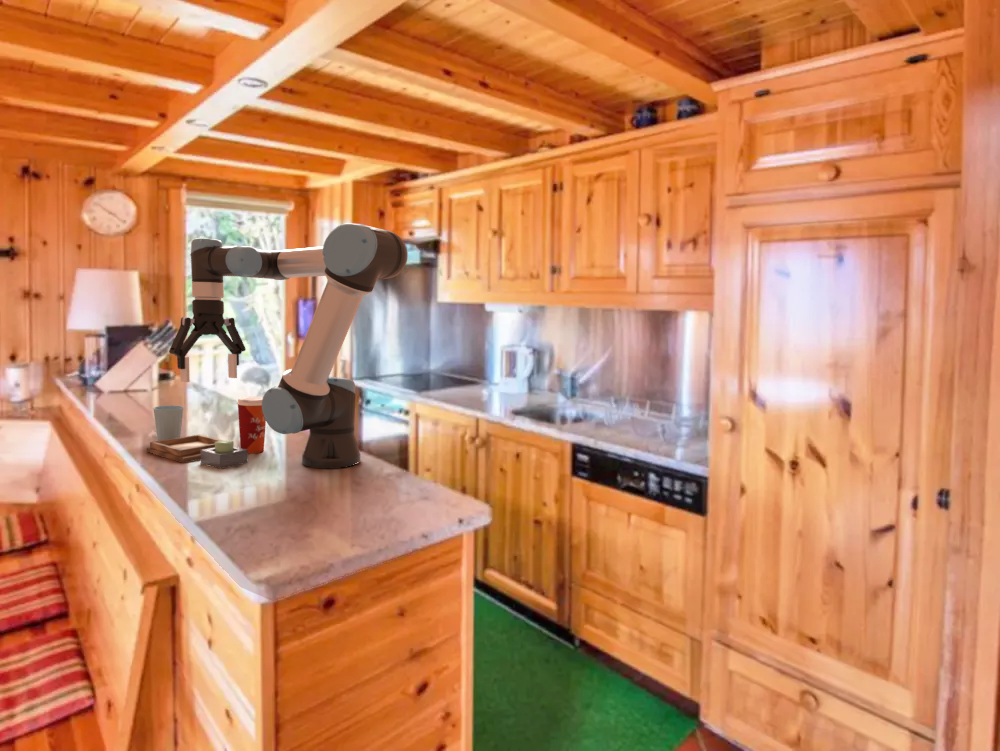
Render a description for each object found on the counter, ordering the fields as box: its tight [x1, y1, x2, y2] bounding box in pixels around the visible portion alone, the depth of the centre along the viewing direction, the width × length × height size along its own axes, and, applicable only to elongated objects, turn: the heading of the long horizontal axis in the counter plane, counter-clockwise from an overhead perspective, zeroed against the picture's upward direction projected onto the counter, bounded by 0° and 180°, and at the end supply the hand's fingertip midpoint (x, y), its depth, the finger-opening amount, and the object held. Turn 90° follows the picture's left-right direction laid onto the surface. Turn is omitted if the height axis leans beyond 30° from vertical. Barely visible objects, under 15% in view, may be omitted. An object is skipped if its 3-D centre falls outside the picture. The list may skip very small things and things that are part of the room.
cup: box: [152, 405, 185, 441], centre depth 183 cm, size 8×8×10 cm
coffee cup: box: [236, 395, 267, 454], centre depth 178 cm, size 8×8×15 cm
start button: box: [215, 439, 234, 453], centre depth 164 cm, size 4×4×4 cm
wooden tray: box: [146, 433, 225, 464], centre depth 174 cm, size 17×15×3 cm
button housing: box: [200, 446, 249, 470], centre depth 164 cm, size 8×8×4 cm
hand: (209, 379), depth 168 cm, fingers open, 13 cm apart
